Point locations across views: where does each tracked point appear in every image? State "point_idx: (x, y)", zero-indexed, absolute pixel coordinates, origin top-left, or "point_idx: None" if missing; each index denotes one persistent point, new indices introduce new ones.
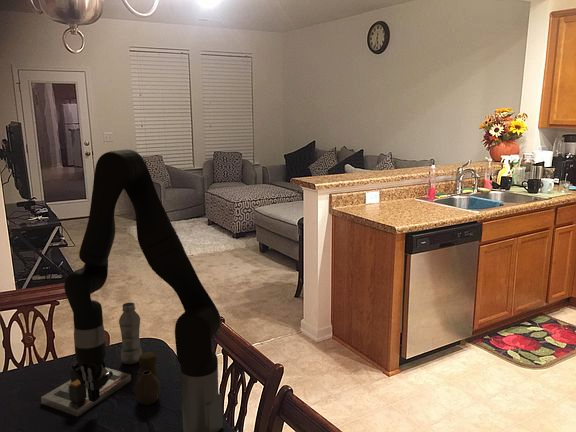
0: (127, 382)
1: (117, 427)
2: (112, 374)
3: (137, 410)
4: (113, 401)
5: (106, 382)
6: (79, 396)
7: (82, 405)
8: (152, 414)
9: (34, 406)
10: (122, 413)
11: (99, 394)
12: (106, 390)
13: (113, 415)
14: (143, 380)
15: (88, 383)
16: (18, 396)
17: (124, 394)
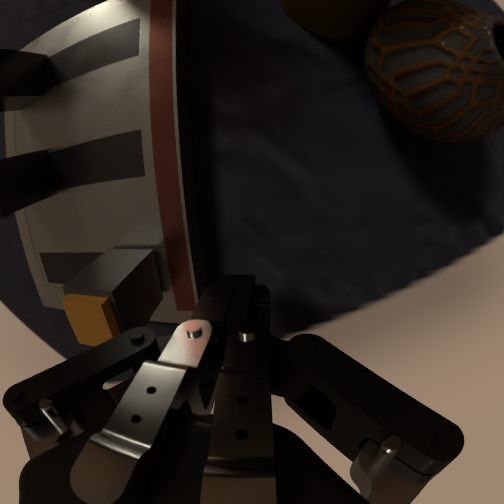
0: (187, 9)
1: (406, 288)
2: (457, 428)
3: (416, 164)
4: (254, 151)
5: (353, 364)
6: (150, 303)
7: (192, 296)
8: (477, 168)
9: (59, 310)
10: (371, 210)
11: (269, 299)
12: (177, 140)
13: (343, 239)
14: (501, 106)
15: (212, 400)
16: (8, 289)
17: (255, 78)
